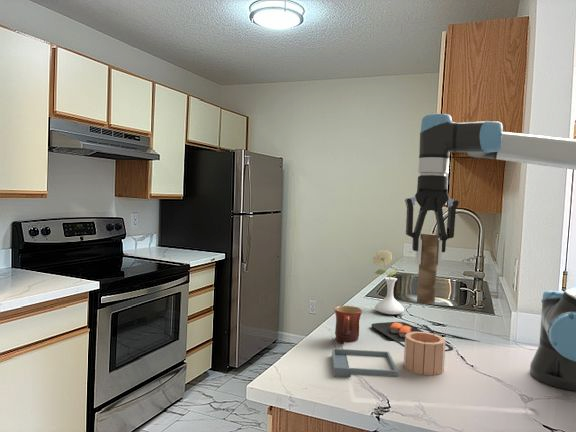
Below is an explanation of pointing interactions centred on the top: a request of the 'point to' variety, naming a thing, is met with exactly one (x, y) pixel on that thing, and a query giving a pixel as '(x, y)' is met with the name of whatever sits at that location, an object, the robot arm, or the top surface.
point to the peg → (427, 269)
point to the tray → (343, 368)
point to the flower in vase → (388, 302)
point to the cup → (424, 353)
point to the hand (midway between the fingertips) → (427, 263)
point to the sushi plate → (405, 331)
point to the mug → (347, 323)
